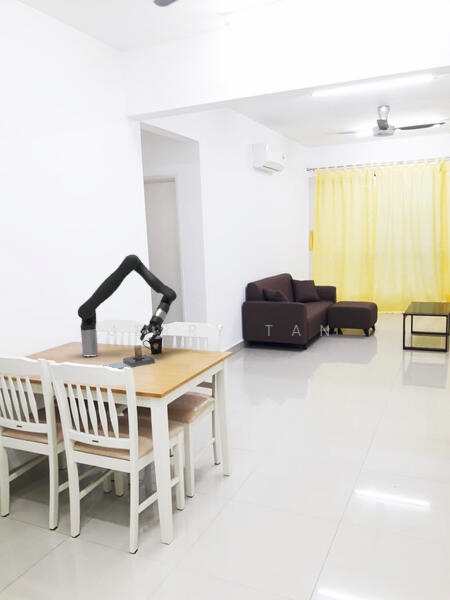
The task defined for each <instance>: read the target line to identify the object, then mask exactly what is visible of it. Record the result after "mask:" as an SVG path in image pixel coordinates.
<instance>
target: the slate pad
mask: <svg viewBox="0 0 450 600" xmlns="http://www.w3.org/2000/svg"><path fill="white" fill-rule="evenodd" d="M107 365H109V366H108V367H112V368H118V369H119V370H123V369H122V368H124V367H128V368H129V365H127V364H125V363H122V362H120V361H118V362H114V363H113V362H112V363H108V364H107V363H106V364H103V365H102V367H104V366H107Z"/></svg>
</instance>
